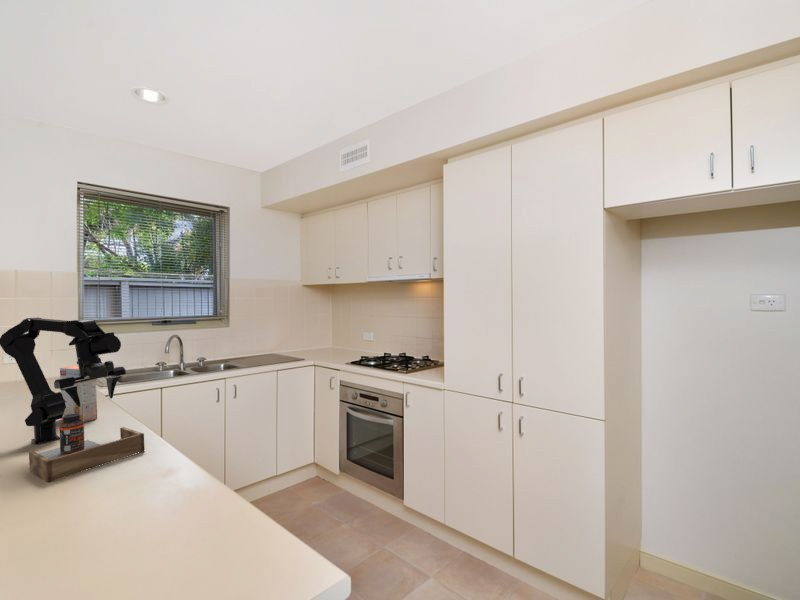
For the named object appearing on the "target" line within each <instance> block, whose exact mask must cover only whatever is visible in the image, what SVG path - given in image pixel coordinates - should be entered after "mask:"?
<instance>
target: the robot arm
mask: <svg viewBox="0 0 800 600" xmlns="http://www.w3.org/2000/svg"><path fill="white" fill-rule="evenodd" d="M43 331H45V332H53V333H54V332H55V333H62V334H64V335H66V337H67V336H68V337H72V340H70V342H69V343H68V346H74V347H75V352H76V359H77V361H76V365H77V366H79V372H80V373H79V377H77V378H74V377H67V378H62V379H60V378H58V379H55V381H54V382H53V387H54V389H55V390H56V389H59V390H60V391H58V392H55V391H53V390H52V389H51V387H50V385H49V382H48V380H47V378H46V377H45V375H44V373H43V370H42V368H41V366H40V364H39V362H38V359H37V357H36V356H35V353H34V352H35V348H36V341H35V339H37V338H38V337H39V336H40V333H41V332H43ZM121 342H122V341H121V340H120V338H119V337H118V336H116V335H115V332H113V331H112V332H105V331H104V330H103V329H102V328H101V327H100V326H99V325H98V324H97V322H96V320H95V319H93V318H86V319H75V320H66V319H65V320H62V319H52V318H43V317H39V316H37V317H27V318H24V319H23V320H21V322H19V323H18V324H16V325H14V326H13V327H11V328H9V329H7V331H5V332H4V333H2V334H1V336H0V347H1V349H2V350H3V351H4V353H5V354H6V355H8V356H10V357H11V358H13V359H14V360H15V362H16V364H17V366H18V369H19V371H20V372H21V375H22V377H23V379H24V381H25V384H26V386H27V388H28V390H29V392H30V394H31V396H32V398H31V403H30V408H31V413H30V414H29V415H28V416H27V417H26V418H25V419H24V422H25V426H26V427H33V434H34V435H33V437H34V438H32V439H31V442H32V444H33V445H40V444H44V443H48V442H53V441H57V440H60V435H59V436H58V435H57V420H58V421H59V420H62V417H63V414H64V411H65V408H66V405H65V402H66V401H65V400H64V398H63V396H62V393H61V390H65V391H66V392H67V393H68V394H69V395H70V397H71V398H72V399H73V401H74V402H75V403H76V405H77V406H78V407H80V400H79V396H78V393H77V386H74V384H75V383H79V382H84V381H88V380H93V379H96V380H97V379H102V378H105V380H106V385H107V392H108V393H107V394H108V396H109V399H113V397H114V395H115V394H114V393H115V388H116V386H117V385H116V384H117V382H118V381H119V380H120V379H121V378H123V376H124V375H126V374H127V371H126V368H125V366H116V367H115V366H114V365H115V364H114V361H113V360H107V361H105V362H102V360H101V357H100V355H105V354H113V353H117V352H120V351H119V350H120V349H121V347H122V343H121ZM86 376H89V377H86ZM84 377H86V378H84ZM106 377H107V378H106Z"/></svg>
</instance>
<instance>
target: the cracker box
mask: <svg viewBox="0 0 800 600" xmlns="http://www.w3.org/2000/svg"><path fill="white" fill-rule="evenodd" d="M79 373H80V372H79V366H78V365H68V366H62V367H60V368H59V379H62V378H67V377H74V378H77V377H79ZM86 377H89V376H86ZM86 377H84V378H86ZM74 386H77V393H78V396H79V400H80V407H78V406H77V405H76V403H75V402H74V401H73V399H72V398H71V397H70V395H69V394H68V393H67V392H66V391H65V390H60V392H61V393H62V396H63V398H64V400H65V401H66V402H65V405H66V408H65V411H64V414H63V417H64V416H65V415H69V414H80V418H79V419H80V420H82V421H83V422H84V423H86V422H91V421H94V420H95V421H96V420H97V419H98V401H97V398H98V397H97V396H98V395H97V379H93V380H88V381H84V382H79V383H75V384H74ZM63 417H62V418H61V420H63Z"/></svg>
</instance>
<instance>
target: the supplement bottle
mask: <svg viewBox="0 0 800 600" xmlns="http://www.w3.org/2000/svg"><path fill="white" fill-rule="evenodd" d="M79 418H80V414H69V415H65V416H64V417H63V419H62V420H63V421H62V423H60V425H59V437H60V439H59V448H60V452H61V453H62V454H71V453H75V452H78V451H81V450H83V449H84V441H85V425H84V424H85V422H83V421H82V420H80V419H79Z"/></svg>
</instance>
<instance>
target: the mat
mask: <svg viewBox="0 0 800 600" xmlns="http://www.w3.org/2000/svg"><path fill="white" fill-rule="evenodd" d="M99 445H101V444H100V443H98V442H97V443H96V442H94V441H92V440H89V439H86V440H85V439H84V449H83V450H85V449H89V448H92V447H96V446H99ZM81 451H82V450H81ZM37 453H38V454H40V455H42V456H44V457H46V458H48V459H54V458H57V457H61V456H64V455H68V454H62V453H61V452H60V447H56V448H53V449H49V450H45V451H41V452H37Z"/></svg>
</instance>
